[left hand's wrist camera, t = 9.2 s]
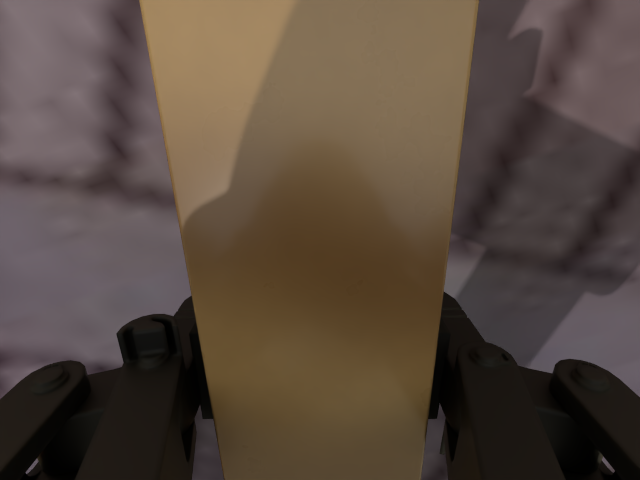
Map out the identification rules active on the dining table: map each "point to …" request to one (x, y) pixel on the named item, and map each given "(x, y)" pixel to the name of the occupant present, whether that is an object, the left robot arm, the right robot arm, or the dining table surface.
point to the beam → (315, 218)
